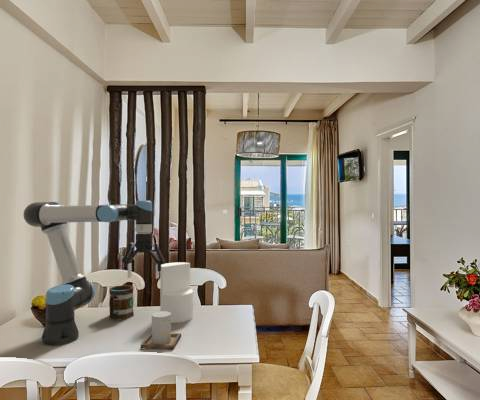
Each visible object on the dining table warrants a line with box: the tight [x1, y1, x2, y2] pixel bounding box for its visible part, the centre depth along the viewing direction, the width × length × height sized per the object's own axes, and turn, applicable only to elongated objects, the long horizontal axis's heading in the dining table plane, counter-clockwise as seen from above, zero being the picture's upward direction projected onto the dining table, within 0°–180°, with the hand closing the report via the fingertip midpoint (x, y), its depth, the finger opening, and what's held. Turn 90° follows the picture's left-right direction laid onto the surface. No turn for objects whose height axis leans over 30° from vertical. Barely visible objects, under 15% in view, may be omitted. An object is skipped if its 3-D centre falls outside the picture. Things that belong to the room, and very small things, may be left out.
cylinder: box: [159, 261, 194, 324], centre depth 195 cm, size 17×17×28 cm
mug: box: [108, 284, 135, 321], centre depth 195 cm, size 20×14×15 cm
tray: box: [140, 332, 182, 351], centre depth 160 cm, size 14×14×2 cm
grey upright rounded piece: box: [151, 311, 172, 344], centre depth 160 cm, size 8×8×12 cm
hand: (143, 277), depth 173 cm, fingers open, 13 cm apart
